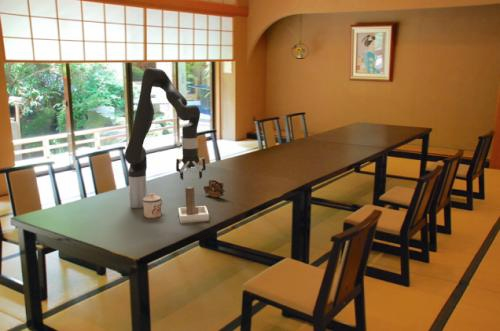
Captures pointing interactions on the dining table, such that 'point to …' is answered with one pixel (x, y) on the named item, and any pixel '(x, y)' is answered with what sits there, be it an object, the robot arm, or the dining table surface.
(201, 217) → the tray
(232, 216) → the dining table surface
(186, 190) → the wooden block
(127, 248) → the dining table surface
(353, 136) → the dining table surface
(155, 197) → the teacup with lid
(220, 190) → the wooden carving
